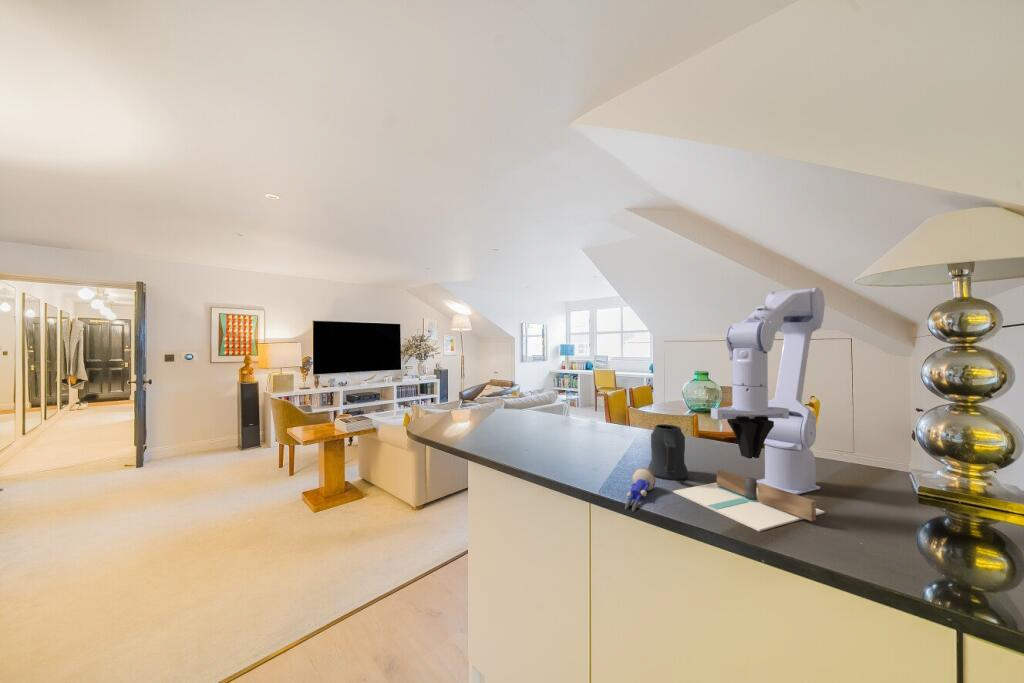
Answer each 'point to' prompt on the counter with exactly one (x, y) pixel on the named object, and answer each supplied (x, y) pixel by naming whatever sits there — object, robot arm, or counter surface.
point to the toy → (640, 486)
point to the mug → (668, 453)
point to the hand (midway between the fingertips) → (750, 456)
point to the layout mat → (739, 506)
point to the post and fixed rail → (738, 484)
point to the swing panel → (787, 501)
